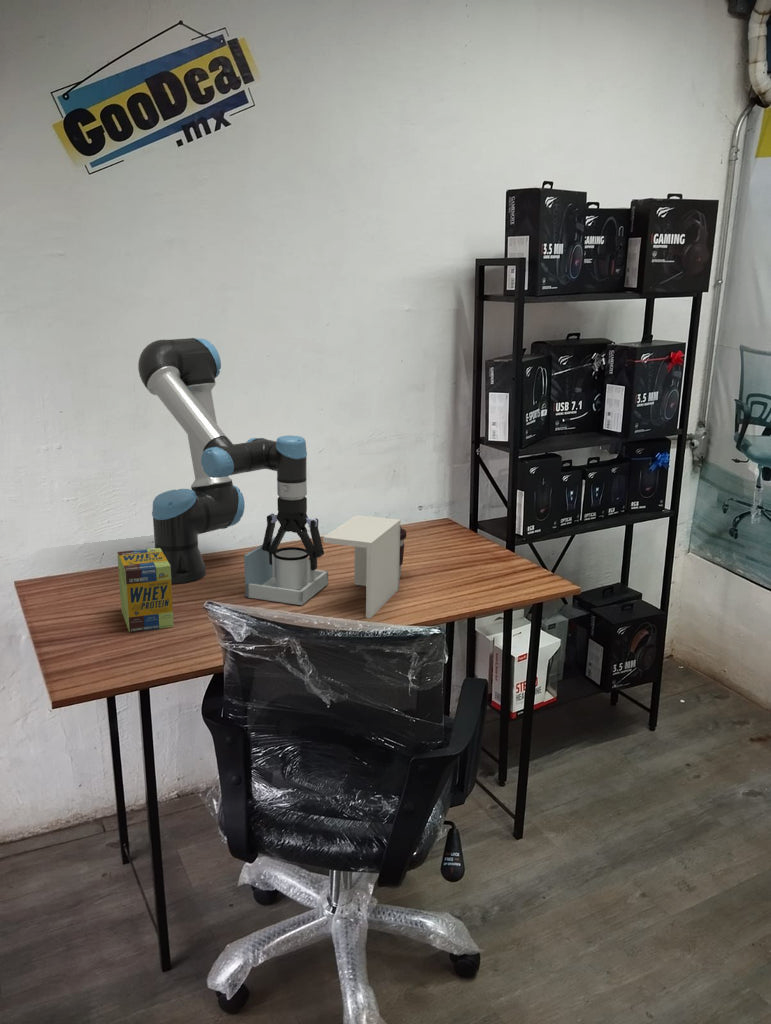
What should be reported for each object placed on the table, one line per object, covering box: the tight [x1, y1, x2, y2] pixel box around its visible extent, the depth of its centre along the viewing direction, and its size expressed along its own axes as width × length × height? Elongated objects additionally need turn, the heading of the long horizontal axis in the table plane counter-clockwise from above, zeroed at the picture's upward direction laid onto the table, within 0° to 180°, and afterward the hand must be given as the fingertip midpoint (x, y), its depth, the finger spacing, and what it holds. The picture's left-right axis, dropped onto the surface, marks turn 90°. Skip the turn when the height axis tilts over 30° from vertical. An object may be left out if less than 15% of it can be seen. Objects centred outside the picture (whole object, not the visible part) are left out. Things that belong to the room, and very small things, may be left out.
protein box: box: [116, 547, 175, 634], centre depth 203 cm, size 10×15×16 cm
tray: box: [243, 536, 329, 606], centre depth 223 cm, size 16×17×11 cm
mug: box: [273, 546, 309, 590], centre depth 223 cm, size 12×10×9 cm
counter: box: [322, 514, 401, 619], centre depth 217 cm, size 12×22×19 cm, turn 161°
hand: (293, 578), depth 223 cm, fingers closed on mug, 9 cm apart
